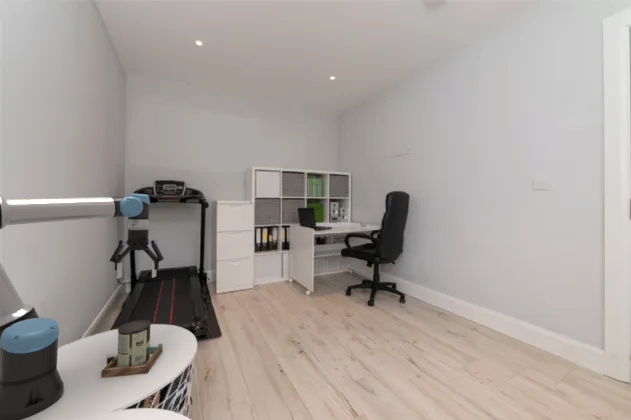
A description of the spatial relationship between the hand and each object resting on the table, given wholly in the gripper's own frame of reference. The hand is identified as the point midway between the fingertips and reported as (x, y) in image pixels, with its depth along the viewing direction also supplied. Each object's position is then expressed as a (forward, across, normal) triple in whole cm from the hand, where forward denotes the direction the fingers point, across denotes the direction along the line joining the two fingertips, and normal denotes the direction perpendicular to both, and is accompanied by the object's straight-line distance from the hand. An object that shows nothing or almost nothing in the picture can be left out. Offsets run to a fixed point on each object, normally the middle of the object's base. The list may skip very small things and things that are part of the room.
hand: (136, 277), depth 114 cm
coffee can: (+29, +7, -17) cm, 34 cm away
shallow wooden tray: (+29, +7, -17) cm, 34 cm away
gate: (+28, +7, -10) cm, 31 cm away
